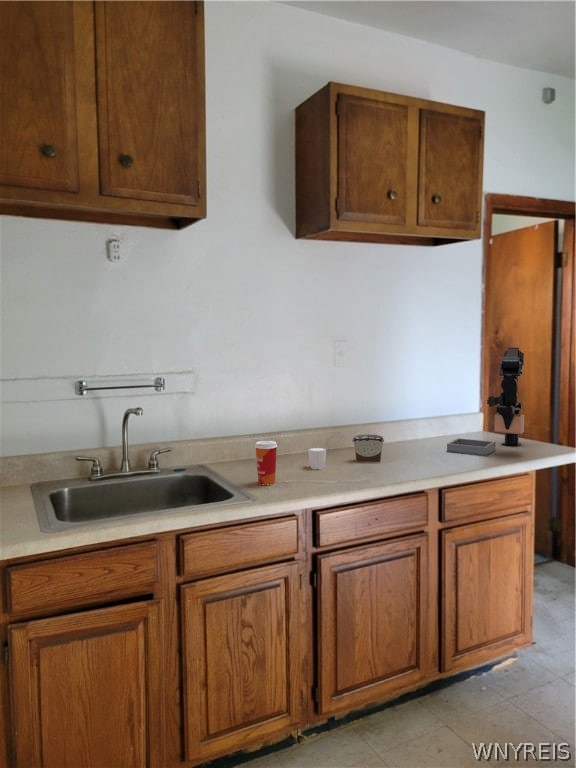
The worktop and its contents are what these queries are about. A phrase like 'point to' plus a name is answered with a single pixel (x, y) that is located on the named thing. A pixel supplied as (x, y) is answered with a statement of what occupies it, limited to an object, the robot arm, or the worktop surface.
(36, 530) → the worktop surface
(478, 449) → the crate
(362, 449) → the food container
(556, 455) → the worktop surface
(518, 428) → the box
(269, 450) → the paper cup
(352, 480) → the worktop surface
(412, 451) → the worktop surface
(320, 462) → the white ribbed cup
